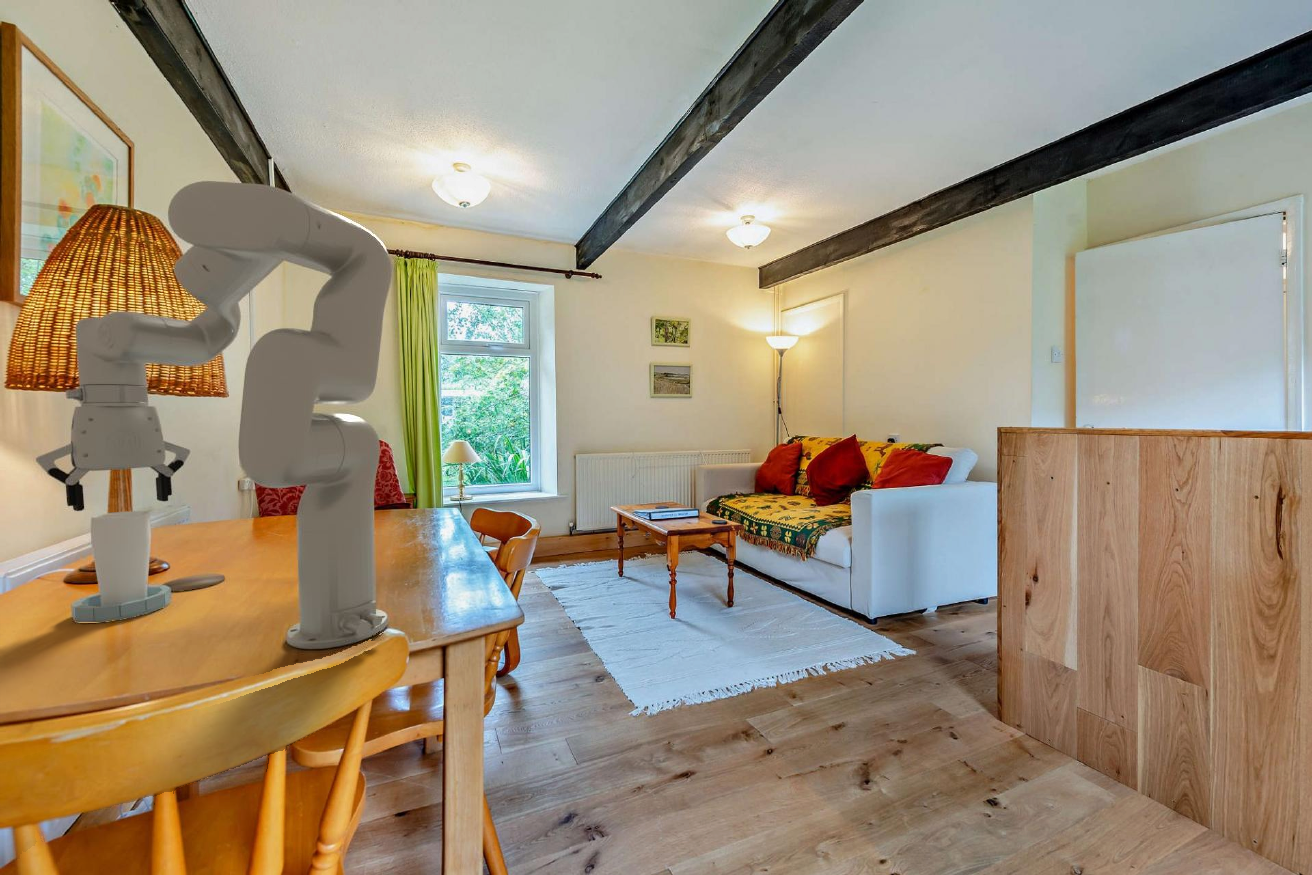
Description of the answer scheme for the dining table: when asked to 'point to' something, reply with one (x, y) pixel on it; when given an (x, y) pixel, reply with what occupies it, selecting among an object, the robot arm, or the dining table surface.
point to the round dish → (120, 606)
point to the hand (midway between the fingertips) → (122, 505)
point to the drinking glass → (121, 555)
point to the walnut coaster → (195, 582)
